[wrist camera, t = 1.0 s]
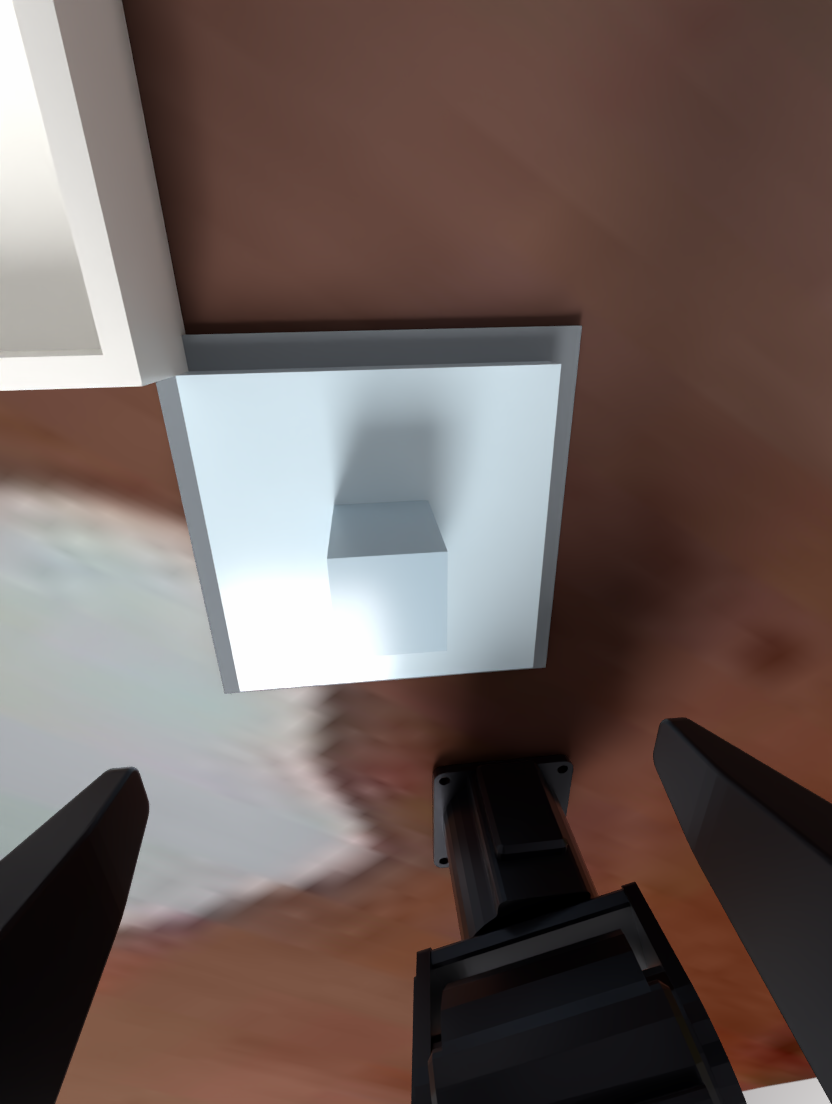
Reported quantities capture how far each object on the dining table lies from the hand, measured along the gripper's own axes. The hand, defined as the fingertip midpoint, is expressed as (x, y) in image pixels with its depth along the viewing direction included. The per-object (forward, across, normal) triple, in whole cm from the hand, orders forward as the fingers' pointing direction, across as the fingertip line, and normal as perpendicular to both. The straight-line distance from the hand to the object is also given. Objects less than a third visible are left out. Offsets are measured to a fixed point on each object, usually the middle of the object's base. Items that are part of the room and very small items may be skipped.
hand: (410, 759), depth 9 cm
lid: (+10, 0, 0) cm, 10 cm away
